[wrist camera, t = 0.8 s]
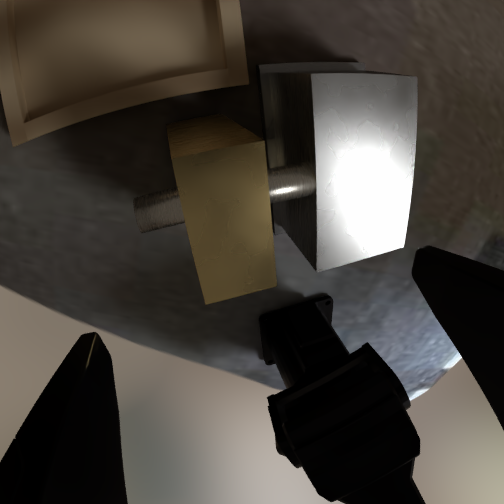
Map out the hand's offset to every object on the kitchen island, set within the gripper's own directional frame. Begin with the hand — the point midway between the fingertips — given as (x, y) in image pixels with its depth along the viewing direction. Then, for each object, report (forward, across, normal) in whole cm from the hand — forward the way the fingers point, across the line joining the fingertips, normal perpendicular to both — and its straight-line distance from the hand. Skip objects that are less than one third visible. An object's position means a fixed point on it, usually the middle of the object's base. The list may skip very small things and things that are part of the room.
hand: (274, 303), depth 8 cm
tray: (+12, +4, -11) cm, 17 cm away
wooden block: (+12, 0, 0) cm, 12 cm away
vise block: (+13, -4, 0) cm, 13 cm away
